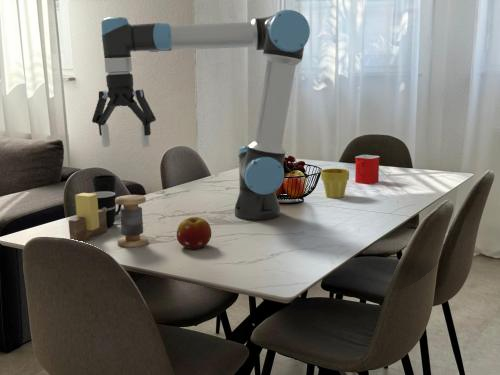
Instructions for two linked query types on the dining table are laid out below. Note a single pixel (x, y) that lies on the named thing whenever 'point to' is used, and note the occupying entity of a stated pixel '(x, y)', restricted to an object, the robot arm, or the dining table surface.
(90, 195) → the yellow block
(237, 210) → the robot arm
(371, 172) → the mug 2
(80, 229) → the notched board
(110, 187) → the cup
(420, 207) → the dining table surface
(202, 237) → the fruit
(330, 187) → the plant pot
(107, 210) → the mug
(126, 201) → the bobbin
